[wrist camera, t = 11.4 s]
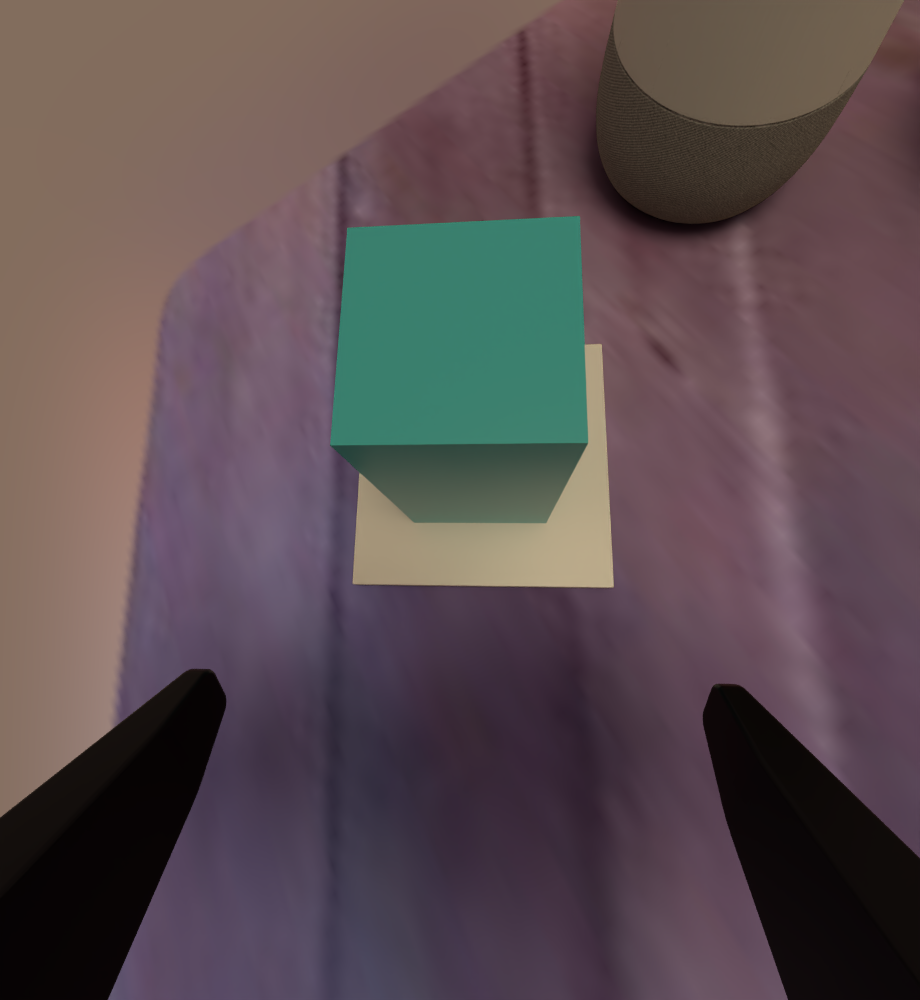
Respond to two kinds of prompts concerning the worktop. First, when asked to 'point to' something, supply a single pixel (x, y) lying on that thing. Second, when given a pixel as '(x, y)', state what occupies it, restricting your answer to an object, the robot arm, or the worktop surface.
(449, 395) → the teal square pillar
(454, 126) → the worktop surface
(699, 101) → the smart speaker
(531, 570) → the post block
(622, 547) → the worktop surface
